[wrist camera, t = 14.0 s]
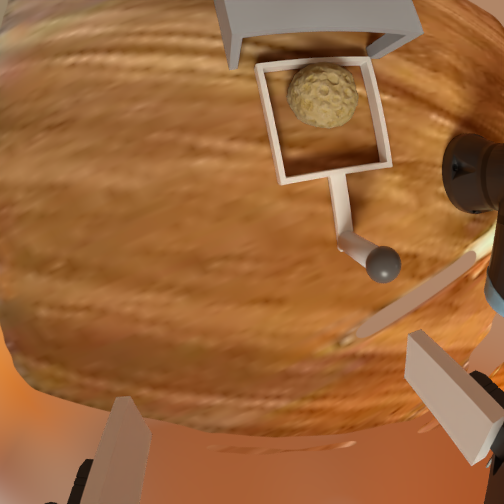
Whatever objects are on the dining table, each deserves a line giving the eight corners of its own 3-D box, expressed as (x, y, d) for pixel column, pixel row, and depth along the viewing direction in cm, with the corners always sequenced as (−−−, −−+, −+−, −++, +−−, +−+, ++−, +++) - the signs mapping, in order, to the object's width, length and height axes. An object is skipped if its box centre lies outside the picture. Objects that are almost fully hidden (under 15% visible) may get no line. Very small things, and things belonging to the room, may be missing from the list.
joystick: (254, 69, 39) (269, 25, 25) (363, 61, 40) (414, 28, 25) (292, 264, 48) (322, 307, 33) (392, 240, 48) (448, 270, 33)
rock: (344, 102, 45) (370, 62, 36) (337, 152, 42) (368, 111, 33) (289, 81, 45) (307, 36, 35) (273, 129, 41) (293, 80, 32)
